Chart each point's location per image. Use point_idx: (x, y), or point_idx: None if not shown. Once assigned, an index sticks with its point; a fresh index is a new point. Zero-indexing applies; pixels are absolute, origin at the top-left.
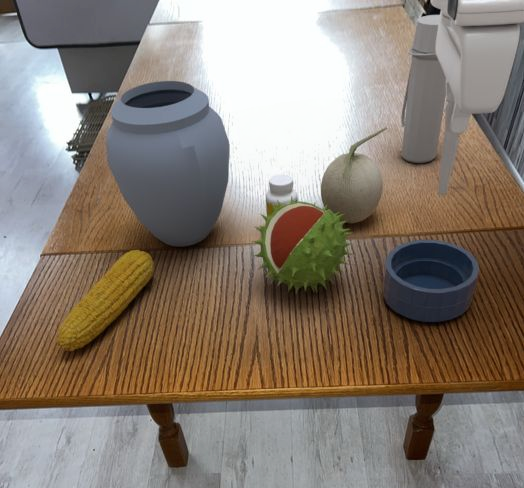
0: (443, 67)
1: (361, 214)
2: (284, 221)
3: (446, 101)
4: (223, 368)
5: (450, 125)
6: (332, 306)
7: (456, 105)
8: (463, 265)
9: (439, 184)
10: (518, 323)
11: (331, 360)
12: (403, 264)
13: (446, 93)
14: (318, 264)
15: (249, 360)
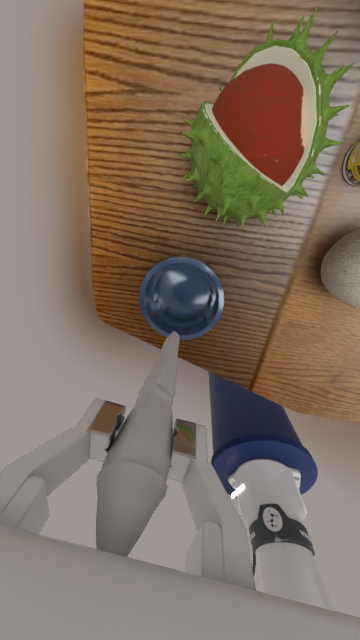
0: (195, 634)
1: (321, 269)
2: (264, 77)
3: (195, 454)
4: (114, 34)
5: (106, 406)
6: (192, 201)
7: (10, 465)
8: (188, 330)
9: (170, 336)
10: (144, 340)
11: (118, 182)
12: (210, 283)
13: (206, 478)
14: (191, 163)
15: (124, 77)
